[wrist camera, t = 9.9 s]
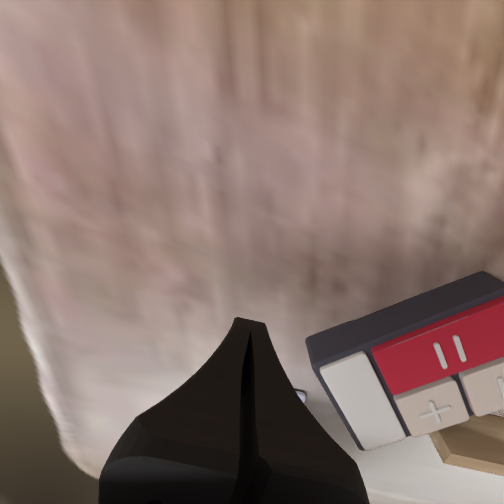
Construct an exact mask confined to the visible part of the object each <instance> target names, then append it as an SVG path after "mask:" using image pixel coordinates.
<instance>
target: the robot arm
mask: <svg viewBox="0 0 504 504" xmlns="http://www.w3.org/2000/svg"><path fill="white" fill-rule="evenodd" d="M305 400H306V395H305V394H304V393H302V392H299V391H295V389H294V388H293V386H292V384H291V383H290V381H289V379H288V377H287V375H286V373H285V371H284V370H283V368H282V365H281V363H280V361H279V359H278V357H277V354H276V352H275V350H274V347H273V345H272V342H271V339H270V337H269V334H268V330H267V327H266V325H265V323H262V322H257V321H253V320H249V319H244V318H240V317H236V318H234V322H233V324H232V327H231V329H230V330H229V332H228V334H227V336H226V337H225V338H224V340H223V341H222V343H221V344H220V346H219V347H218V348H217V350H216V351H215V352H214V353H213V355H212V356H211V357H210V358H209V359H208V360H207V362H206V363H205V364H204V365H203V366H202V367H201V368H200V369H199V370H198V371H197V372H196V373H195V374H194V375H193V376H192V377H191V378H189V379H188V380H187V381H186V382H185V383H184V384H183V385H182V386H180V387H179V388H178V389H176V390H175V391H174V392H173V393H171V394H170V395H169V396H167V397H166V398H165V399H163V400H162V401H160V402H159V403H158V404H156V405H154V406H153V407H151V408H150V409H148V410H146V411H145V412H143V413H142V414H140V415H138V416H137V417H136V418H135V419H134V420H133V422H132V423H131V424H130V425H129V427H128V428H127V429H126V431H125V432H124V433H123V435H122V436H121V437H120V439H119V440H118V442H117V443H116V445H115V447H114V448H113V450H112V452H111V454H110V455H109V457H108V459H107V461H106V463H105V465H104V467H103V469H102V471H101V475H100V478H99V497H98V504H370V503H369V499H368V496H367V492H366V488H365V485H364V482H363V479H362V477H361V474H360V471H359V469H358V466H357V463H356V462H355V461H354V460H353V459H352V458H351V457H350V456H349V455H348V454H347V453H346V452H345V451H344V450H343V449H342V448H341V447H340V446H339V445H338V444H337V443H336V442H335V441H334V440H333V439H332V438H331V437H330V435H329V434H328V433H327V432H326V431H325V430H324V429H323V428H322V426H321V425H320V424H319V423H318V422H317V420H316V419H315V418H314V416H313V415H312V414H311V412H310V411H309V410H308V409H307V407H306V406H305V405H304V403H305Z"/></svg>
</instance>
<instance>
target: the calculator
mask: <svg viewBox="0 0 504 504" xmlns="http://www.w3.org/2000/svg"><path fill="white" fill-rule="evenodd" d="M306 345H307V349H308V353H309V357H310V361H311V365H312V369H313V371H314V372H315V374H316V376H317V378H318V379H319V381H320V383H321V384H322V386H323V388H324V390H325V391H326V393H327V395H328V396H329V398H330V400H331V402H332V403H333V405H334V407H335V408H336V410H337V412H338V414H339V415H340V417H341V419H342V420H343V422H344V424H345V426H346V427H347V429H348V431H349V432H350V434H351V436H352V438H353V439H354V441H355V443H356V444H357V446H358V448H359V449H360V450H363V451H364V450H367V451H368V450H371V449H374V448H377V447H380V446H383V445H387V444H390V443H393V442H396V441H399V440H402V439H404V438H405V437H408V436H411V435H412V436H413V437H419V436H422V435H425V434H428V433H431V432H434V431H437V430H440V429H443V428H446V427H449V426H452V425H455V424H459V423H462V422H465V421H467V420H469V416H472V415H476V416H483V415H486V414H489V413H492V412H495V411H498V410H502V409H504V282H502V281H500V280H499V279H497V278H495V277H493V276H492V275H490V274H488V273H486V272H484V271H481V272H478V273H475V274H472V275H470V276H467V277H465V278H462V279H459V280H457V281H454V282H451V283H449V284H446V285H443V286H441V287H438V288H436V289H433V290H430V291H428V292H425V293H422V294H420V295H417V296H415V297H412V298H410V299H407V300H405V301H402V302H400V303H397V304H395V305H393V306H390V307H388V308H385V309H383V310H381V311H378V312H376V313H373V314H371V315H369V316H366V317H364V318H361V319H359V320H356V321H349V322H346V323H343V324H340V325H338V326H335V327H333V328H330V329H327V330H325V331H322V332H319V333H317V334H314V335H312V336H309V337H307V338H306Z"/></svg>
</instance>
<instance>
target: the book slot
mask: <svg viewBox="0 0 504 504" xmlns="http://www.w3.org/2000/svg"><path fill="white" fill-rule="evenodd" d="M428 434H429V436H430V438H431V440H432V442H433V444H434V446H435V447H436V449H437V451H438V453H439V455H440V457H441V459H442V461H443V463H445V464H450V465H454V466H459V467H464V468H468V469H473V470H478V471H482V472H487V473H491V474H496V475H501V476H504V418H503V417H499V416H494V415H490V414H486V415H483V416H476V415H472V416H469V420H467V421H465V422H462V423H459V424H455V425H452V426H449V427H446V428H443V429H440V430H437V431H434V432H431V433H428Z"/></svg>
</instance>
